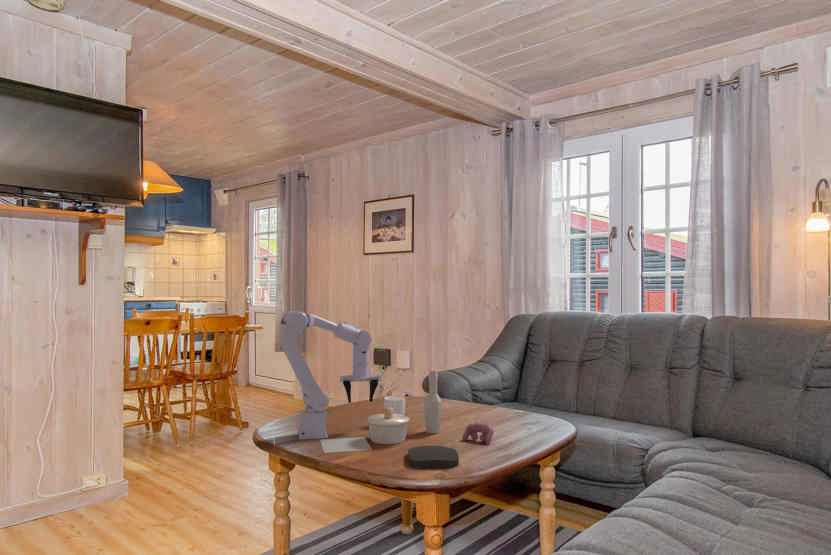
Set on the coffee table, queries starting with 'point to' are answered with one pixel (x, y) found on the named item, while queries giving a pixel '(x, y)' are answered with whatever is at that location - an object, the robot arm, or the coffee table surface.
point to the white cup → (395, 404)
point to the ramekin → (387, 433)
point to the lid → (388, 418)
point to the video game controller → (478, 427)
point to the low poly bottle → (432, 405)
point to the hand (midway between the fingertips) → (360, 401)
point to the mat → (345, 445)
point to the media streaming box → (433, 457)
